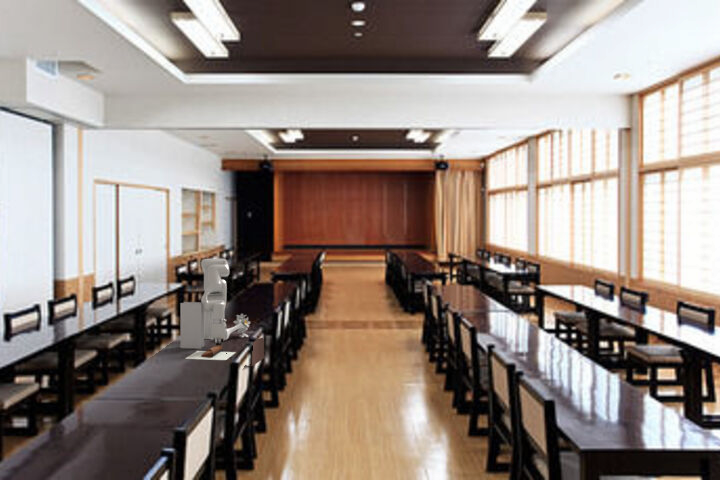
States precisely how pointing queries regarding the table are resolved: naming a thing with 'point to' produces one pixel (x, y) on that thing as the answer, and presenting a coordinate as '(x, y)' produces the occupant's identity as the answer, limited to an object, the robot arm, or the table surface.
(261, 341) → the letter holder
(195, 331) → the tall grey upright box
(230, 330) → the flower vase
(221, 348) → the sunglasses case
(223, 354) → the paper sheet
